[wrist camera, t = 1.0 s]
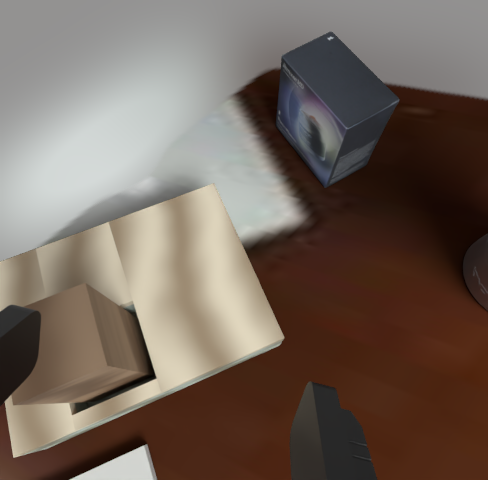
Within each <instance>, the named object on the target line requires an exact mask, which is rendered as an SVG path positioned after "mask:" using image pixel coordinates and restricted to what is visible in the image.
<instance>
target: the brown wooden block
mask: <svg viewBox="0 0 488 480" xmlns="http://www.w3.org/2000/svg"><path fill="white" fill-rule="evenodd" d="M24 307H25V308H29V309H33V310H37V311H39V312H40V313H41V328H40V341H39V354H38V359H37V362H36V365H35V367H34V369H33V371H32V372H31V374H30V375H29V376H28V378H27V379H26V380H25V381H24V382H23V383H22V384H21V385H20V386H19V387H18V388H17V389H16V390H15V391H14V392H13V393H12V394H11V396H12V402H13V405H34V404H55V403H77V402H96V401H98V400H101V399H103V398H105V397H107V396H110V395H112V394H114V393H117V392H119V391H121V390H124V389H126V388H128V387H130V386H133V385H135V384H137V383H140V382H142V381H144V380H147V379H149V378H151V377H153V376H156V375H155V372H154V368H153V365H152V362H151V359H150V355H149V352H148V349H147V346H146V342H145V339H144V336H143V333H142V329H141V326H140V323H139V320H138V318H136V317H135V316H133V315H132V314H131V313H129V312H128V311H126V310H125V309H123V308H122V307H120V306H119V305H117V304H116V303H114V302H113V301H111V300H110V299H109V298H107V297H106V296H104V295H103V294H101V293H100V292H98V291H97V290H95V289H94V288H92V287H91V286H90V285H88V284H87V283H83V284H81V285H78V286H75V287H73V288H70V289H68V290H65V291H63V292H60V293H57V294H55V295H52V296H50V297H47V298H44V299H42V300H39V301H37V302H34V303H32V304H29V305H26V306H24Z"/></svg>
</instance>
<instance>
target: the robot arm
mask: <svg viewBox="0 0 488 480" xmlns="http://www.w3.org/2000/svg"><path fill="white" fill-rule="evenodd" d="M463 275H464V279H465V282H466V285H467V287H468V289H469V290H470V292H471V294H472V295H473V297H474V298H475V299H476V300H477V301H478V303H479V304H480V305H482V306H483V307H484V308H485V309H486V310H487V311H488V233H487V234H486V235H484V236H483V237H481V238H480V239H478V240H477V241H476V242H474V243H473V244H472V245H471V246H470V247H469V249H468V250H467V252H466V254H465V257H464V261H463ZM40 328H41V313H40V312H39V311H37V310H33V309H29V308H25V307H21V306H17V305H9V306H7V307H6V308H4V309H3V310H2V311H0V406H1V405H2V404H3V403H4V402H5V401H6V400H7V399H8V398H9V397H10V395H11V394H12V393H13V392H14V391H15V390H16V389H17V388H18V387H19V386H20V385H21V384H22V383H23V382H24V381H25V380H26V379H27V378H28V376H29V375H30V374H31V372H32V371H33V369H34V367H35V365H36V362H37V359H38V354H39V341H40ZM290 459H291V477H292V480H377V477H376V474H375V470H374V467H373V464H372V463H371V457H370V453H369V450H368V448H367V443H366V440H365V436H364V433H363V429H362V427H361V425H360V424H359V422H358V421H357V420H356V418H355V417H354V415H353V414H352V412H351V411H349V410H345V409H341V408H340V403H339V399H338V395H337V391H336V389H335V388H334V387H330V386H326V385H322V384H318V383H314V382H308V384H307V386H306V388H305V391H304V393H303V396H302V399H301V402H300V404H299V407H298V410H297V412H296V415H295V418H294V420H293V424H292V428H291V434H290Z"/></svg>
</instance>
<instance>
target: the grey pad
mask: <svg viewBox="0 0 488 480" xmlns="http://www.w3.org/2000/svg"><path fill="white" fill-rule="evenodd" d="M70 480H157V478H156V474H155V471H154V467H153V464H152V460H151V456H150V453H149V449H148V446H147V444H146V445H144V446H142V447H139V448H137V449H135V450H133V451H131V452H129V453H126V454H124V455H122V456H120V457H118V458H116V459H113V460H111V461H109V462H107V463H105V464H102V465H100V466H98V467H96V468H94V469H92V470H89V471H87V472H85V473H83V474H81V475H79V476H76V477H74V478H72V479H70Z"/></svg>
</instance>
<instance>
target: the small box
mask: <svg viewBox="0 0 488 480" xmlns="http://www.w3.org/2000/svg"><path fill="white" fill-rule="evenodd" d="M398 102H399V98H398V97H397V96H396V95H395V94H394V93H393V92H392V91H391V90H390V89H389V88H388V87H387V86H386V85H385V84H384V83H383V82H382V81H381V80H380V79H379V78H377V76H376V75H375V74H374V73H373V72H372V71H371V70H370V69H369V68H368V67H367V66H366V65H365V64H364V63H363V62H362V61H361V60H360V59H359V58H358V57H357V56H356V55H355V54H354V53H353V52H352V51H351V50H350V49H349V48H348V47H347V46H346V45H345V44H344V43H343V42H342V41H341V40H340V39H338V37H337V36H336V35H335V34H334V33H333V32H328V33H326V34H324V35H323V36H320V37H319V38H316V39H314V40H312V41H310V42H308V43H306V44H304V45H302V46H300V47H298V48H296V49H294V50H292V51H290V52H288V53H286V54H284V55H282V62H281V73H280V84H279V96H278V107H277V118H276V127H277V128H278V130H279V131H280V132H281V133H282V135H283V136H284V137H285V138H286V140H287V141H288V142H289V143H290V145H291V146H292V147H293V148H294V149H295V151H296V152H297V153H298V154H299V156H300V157H301V158H302V160H303V161H304V162H305V163H306V165H307V166H308V167H309V168H310V170H311V171H312V172H313V173H314V175H315V176H316V177H317V178H318V180H319V181H320V182H321V183H322V185H323V186H324V187H325V188H326V187H328V186H330V185H332V184H334V183H336V182H337V181H339V180H341V179H343V178H345V177H346V176H348V175H350V174H352V173H353V172H355V171H357V170H359V169H360V168H362V167H364V166H366V165H367V162H368V159H369V158H370V156H371V153H372V152H373V150H374V148H375V145H376V144H377V142H378V140H379V138H380V136H381V134H382V132H383V130H384V128H385V126H386V123H387V122H388V120H389V118H390V116H391V114H392V112H393V110H394V108H395V107H396V105H397V104H398Z"/></svg>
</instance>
